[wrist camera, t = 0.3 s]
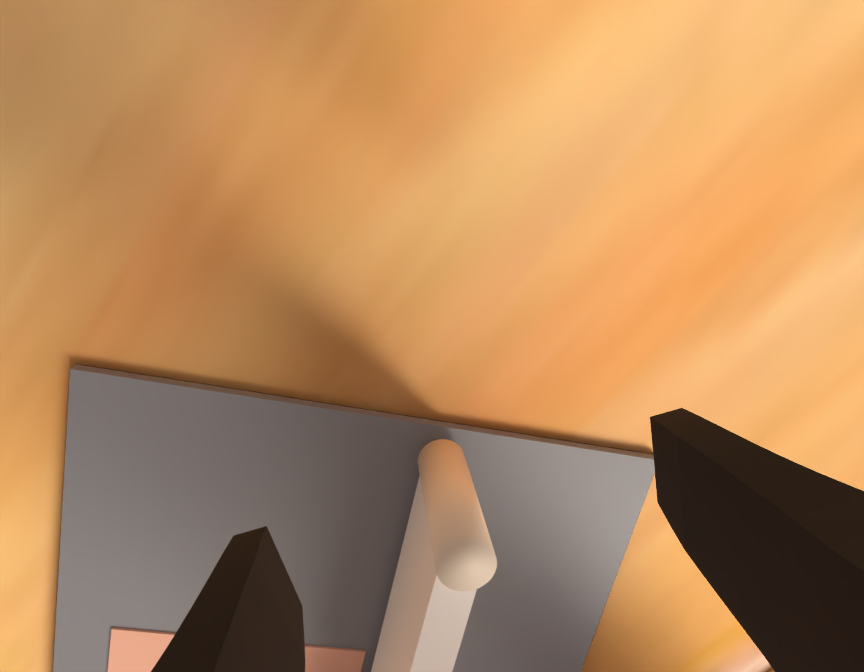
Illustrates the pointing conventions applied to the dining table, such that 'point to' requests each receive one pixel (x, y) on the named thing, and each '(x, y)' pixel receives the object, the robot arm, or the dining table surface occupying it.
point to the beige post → (436, 567)
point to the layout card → (320, 522)
